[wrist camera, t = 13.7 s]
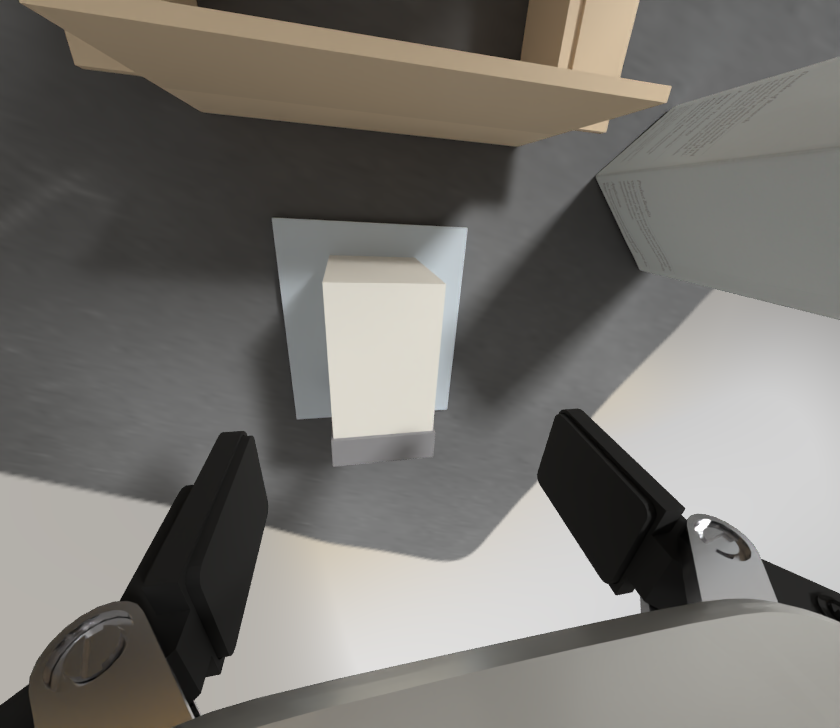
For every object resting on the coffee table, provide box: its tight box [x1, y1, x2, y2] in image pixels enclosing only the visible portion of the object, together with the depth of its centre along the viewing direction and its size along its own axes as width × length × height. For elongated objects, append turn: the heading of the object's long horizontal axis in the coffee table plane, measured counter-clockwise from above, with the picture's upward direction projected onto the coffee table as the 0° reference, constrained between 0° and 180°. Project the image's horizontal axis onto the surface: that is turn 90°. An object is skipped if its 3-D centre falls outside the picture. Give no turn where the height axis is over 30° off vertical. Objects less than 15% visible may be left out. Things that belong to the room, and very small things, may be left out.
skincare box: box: [596, 57, 840, 320], centre depth 15 cm, size 8×6×15 cm
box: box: [322, 255, 446, 467], centre depth 18 cm, size 9×5×7 cm, turn 177°
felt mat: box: [272, 217, 468, 419], centre depth 22 cm, size 13×11×1 cm
